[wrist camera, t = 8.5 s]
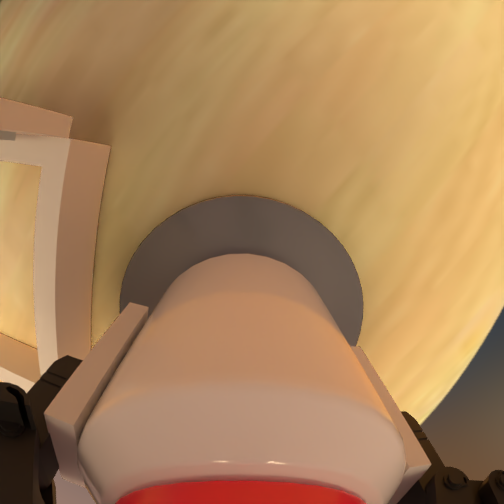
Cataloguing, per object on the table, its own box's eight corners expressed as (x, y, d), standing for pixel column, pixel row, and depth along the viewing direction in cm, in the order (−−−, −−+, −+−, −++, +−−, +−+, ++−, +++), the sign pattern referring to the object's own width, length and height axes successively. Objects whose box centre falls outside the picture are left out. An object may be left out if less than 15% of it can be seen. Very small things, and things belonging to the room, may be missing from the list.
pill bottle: (194, 418, 15) (164, 616, 4) (126, 284, 13) (-44, 483, 2) (342, 379, 14) (427, 578, 4) (303, 227, 13) (502, 424, 2)
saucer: (144, 172, 14) (137, 172, 13) (385, 228, 15) (393, 231, 14) (121, 381, 17) (116, 391, 16) (315, 417, 18) (319, 428, 17)
